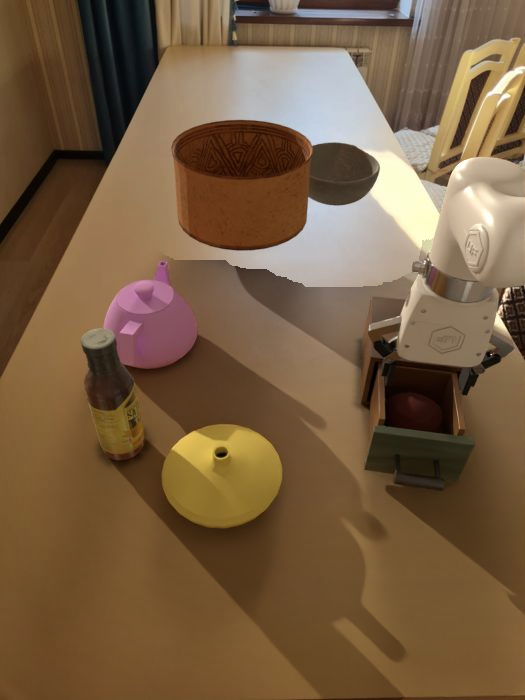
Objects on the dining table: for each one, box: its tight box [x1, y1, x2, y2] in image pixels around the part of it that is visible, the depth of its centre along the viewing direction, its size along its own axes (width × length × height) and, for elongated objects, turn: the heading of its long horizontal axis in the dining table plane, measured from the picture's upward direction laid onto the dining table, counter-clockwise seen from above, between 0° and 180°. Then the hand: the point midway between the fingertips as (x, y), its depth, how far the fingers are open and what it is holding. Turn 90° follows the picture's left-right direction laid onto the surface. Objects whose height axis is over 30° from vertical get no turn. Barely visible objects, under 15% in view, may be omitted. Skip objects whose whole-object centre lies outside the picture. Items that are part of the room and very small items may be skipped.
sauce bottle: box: [80, 327, 146, 461], centre depth 70 cm, size 6×6×20 cm
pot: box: [170, 119, 313, 252], centre depth 113 cm, size 28×28×20 cm
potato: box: [385, 392, 444, 433], centre depth 75 cm, size 7×8×6 cm
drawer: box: [363, 362, 475, 492], centre depth 74 cm, size 18×12×8 cm
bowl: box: [308, 141, 381, 207], centre depth 129 cm, size 20×20×10 cm
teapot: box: [103, 260, 199, 370], centre depth 89 cm, size 22×16×12 cm
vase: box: [161, 423, 283, 529], centre depth 70 cm, size 16×16×7 cm
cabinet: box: [360, 295, 463, 406], centre depth 85 cm, size 15×14×10 cm
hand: (424, 383), depth 71 cm, fingers open, 9 cm apart
